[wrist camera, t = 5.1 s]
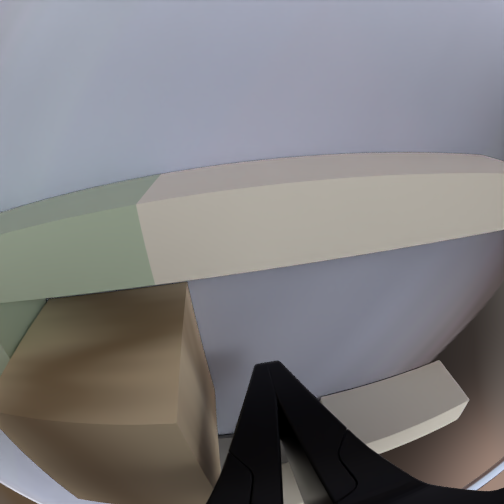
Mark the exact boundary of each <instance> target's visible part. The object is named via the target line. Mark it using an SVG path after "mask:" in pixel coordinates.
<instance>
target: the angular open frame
mask: <svg viewBox="0 0 504 504" xmlns="http://www.w3.org/2000/svg"><path fill="white" fill-rule="evenodd" d="M500 230H504V161H501V160H498V159H495V158H491V157H488V156H484V155H476V154H458V153H424V152H385V153H350V154H330V155H313V156H300V157H287V158H276V159H266V160H256V161H247V162H239V163H231V164H223V165H215V166H208V167H201V168H194V169H188V170H181V171H175V172H169V173H163V174H158V175H152V176H147V177H141V178H136V179H131V180H126V181H121V182H116V183H111V184H107V185H102V186H98V187H93V188H89V189H85V190H80V191H76V192H72V193H68V194H64V195H60V196H56V197H52V198H49V199H45V200H41V201H38V202H34V203H31V204H27V205H24V206H20V207H17V208H13V209H10V210H7V211H4V212H1V213H0V376H1V374H2V373H3V371H4V369H5V367H6V365H7V364H8V362H9V360H10V359H11V357H12V355H13V354H14V352H15V350H16V349H17V347H18V345H19V344H20V342H21V340H22V339H23V337H24V336H25V334H26V332H27V331H28V329H29V328H30V326H31V325H32V323H33V322H34V320H35V319H36V317H37V316H38V314H39V313H40V311H41V310H42V308H43V307H44V305H45V304H46V303H47V301H46V299H45V298H53V297H62V296H71V295H79V294H88V293H96V292H104V291H112V290H121V289H129V288H136V287H144V286H152V285H160V284H167V283H175V282H182V281H189V280H197V279H204V278H211V277H218V276H226V275H233V274H240V273H246V272H253V271H260V270H267V269H274V268H280V267H287V266H294V265H300V264H307V263H313V262H320V261H326V260H332V259H339V258H345V257H351V256H357V255H363V254H370V253H376V252H382V251H388V250H394V249H400V248H405V247H411V246H417V245H423V244H429V243H434V242H440V241H446V240H451V239H457V238H462V237H468V236H473V235H479V234H484V233H489V232H495V231H500ZM468 401H469V399H468V397H467V396H466V395H465V393H464V392H463V390H462V389H461V388H460V386H459V385H458V384H457V383H456V381H455V380H454V378H453V377H452V376H451V375H450V374H449V372H448V371H447V370H446V368H445V367H444V365H443V364H442V363H441V362H440V360H438V361H435V362H433V363H430V364H428V365H425V366H422V367H420V368H417V369H414V370H411V371H409V372H406V373H403V374H400V375H397V376H394V377H391V378H388V379H385V380H382V381H378V382H375V383H372V384H368V385H365V386H362V387H358V388H354V389H351V390H347V391H343V392H340V393H336V394H332V395H328V396H323V397H321V400H320V402H321V403H322V404H323V405H324V406H325V407H326V408H327V409H328V410H329V411H330V412H331V413H332V414H333V415H334V416H335V417H336V418H337V419H338V420H339V421H340V422H341V423H343V424H344V425H345V426H346V427H347V429H349V430H350V431H351V432H352V433H353V434H354V435H355V436H356V437H358V438H359V439H360V440H361V441H362V442H363V443H365V444H366V445H367V446H368V447H369V448H371V449H372V450H373V451H375V452H376V453H378V454H380V453H383V452H385V451H388V450H391V449H393V448H396V447H398V446H401V445H403V444H406V443H408V442H411V441H413V440H415V439H418V438H420V437H422V436H424V435H427V434H429V433H431V432H433V431H435V430H437V429H439V428H441V427H443V426H445V425H447V424H449V423H451V422H453V421H455V420H457V419H458V418H459V416H460V415H461V413H462V411H463V410H464V408H465V406H466V405H467V403H468ZM233 435H234V434H229V435H220V436H218V443H219V455H220V467H221V470H222V468H223V465H224V462H225V459H226V456H227V453H229V451H228V450H229V447H230V444H231V441H232V438H233ZM280 444H281V462H282V480H283V500H284V504H304V502H303V499H302V496H301V494H300V491H299V489H298V486H297V483H296V481H295V478H294V475H293V473H292V470H291V467H290V464H289V462H288V459H287V456H286V453H285V451H284V448H283V445H282V442H281V440H280Z"/></svg>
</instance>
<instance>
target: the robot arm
mask: <svg viewBox="0 0 504 504" xmlns="http://www.w3.org/2000/svg"><path fill="white" fill-rule="evenodd" d="M280 440H281V442H282V445H283V448H284V451H285V453H286V456H287V459H288V462H289V464H290V467H291V470H292V473H293V475H294V478H295V481H296V483H297V486H298V489H299V491H300V494H301V496H302V499H303V502H304V504H504V488H501V489H499V490H494V491H476V490H466V489H457V488H449V487H442V486H436V485H431V484H427V483H424V482H422V481H420V480H418V479H416V478H414V477H412V476H410V475H409V474H408V473H406V472H404V471H403V470H401V469H400V468H398V467H397V466H395V465H393V464H392V463H390V462H389V461H388V460H386V459H385V458H383V457H382V456H380V455H379V454H378V453H376V452H375V451H373V450H372V449H371V448H369V447H368V446H367V445H366V444H365V443H363V442H362V441H361V440H360V439H359V438H358V437H356V436H355V435H354V434H353V433H352V432H351V431H350V430H349V429H347V427H346V426H345V425H344V424H343V423H341V422H340V421H339V420H338V419H337V418H336V417H335V416H334V415H333V414H332V413H331V412H330V411H329V410H328V409H327V408H326V407H325V406H324V405H323V404H322V403H321V402H320V401H319V400H318V399H317V398H316V397H315V396H314V395H313V394H312V393H311V392H310V391H309V390H308V389H307V388H306V387H305V386H304V385H303V384H302V383H301V382H300V381H299V380H298V379H297V378H296V377H295V376H294V375H293V374H292V373H291V372H290V371H289V370H288V369H287V368H286V367H285V366H284V365H283V364H282V363H281V362H280V361H271V362H265V363H259V364H256V365H255V366H254V369H253V372H252V376H251V379H250V383H249V386H248V389H247V393H246V396H245V399H244V402H243V406H242V409H241V412H240V416H239V419H238V422H237V425H236V428H235V432H234V435H233V438H232V441H231V444H230V447H229V450H228V451H229V453H227V456H226V459H225V462H224V465H223V468H222V470H221V473H220V476H219V478H218V480H217V483H216V485H215V487H214V489H213V491H212V493H211V495H210V497H209V499H208V500H207V502H206V504H284V500H283V480H282V462H281V444H280Z"/></svg>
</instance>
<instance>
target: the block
mask: <svg viewBox="0 0 504 504" xmlns="http://www.w3.org/2000/svg"><path fill="white" fill-rule="evenodd" d="M0 429H1V430H2V431H3V432H4V433H5V434H6V435H7V437H8V438H9V439H10V440H11V441H12V442H13V443H14V444H15V445H16V446H17V447H18V448H19V449H20V450H21V451H22V452H23V453H24V454H25V455H27V456H28V457H29V458H30V459H31V460H32V461H33V462H34V463H35V464H36V465H37V466H38V467H40V468H41V469H42V470H43V471H44V472H45V473H47V474H48V475H49V476H50V477H51V478H52V479H54V480H55V481H56V482H57V483H59V484H60V485H61V486H62V487H64V488H65V489H66V490H68V491H69V492H70V493H71V494H73V495H74V496H76V497H77V498H78V499H84V500H90V501H96V502H103V503H111V504H206V502H207V500H208V499H209V497H210V495H211V493H212V491H213V489H214V487H215V485H216V483H217V480H218V478H219V476H220V473H221V467H220V455H219V443H218V430H217V417H216V402H215V389H214V386H213V382H212V379H211V375H210V372H209V368H208V364H207V361H206V357H205V353H204V349H203V346H202V342H201V338H200V334H199V330H198V326H197V322H196V318H195V314H194V310H193V305H192V301H191V297H190V292H189V288H188V284H187V282H183V283H175V284H168V285H160V286H153V287H145V288H137V289H129V290H121V291H113V292H105V293H97V294H89V295H80V296H72V297H63V298H54V299H49V300H48V301H47V303H46V304H45V305H44V307H43V308H42V310H41V311H40V313H39V314H38V316H37V317H36V319H35V320H34V322H33V323H32V325H31V326H30V328H29V329H28V331H27V332H26V334H25V336H24V337H23V339H22V340H21V342H20V344H19V345H18V347H17V349H16V350H15V352H14V354H13V355H12V357H11V359H10V360H9V362H8V364H7V365H6V367H5V369H4V371H3V373H2V374H1V376H0Z"/></svg>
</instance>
